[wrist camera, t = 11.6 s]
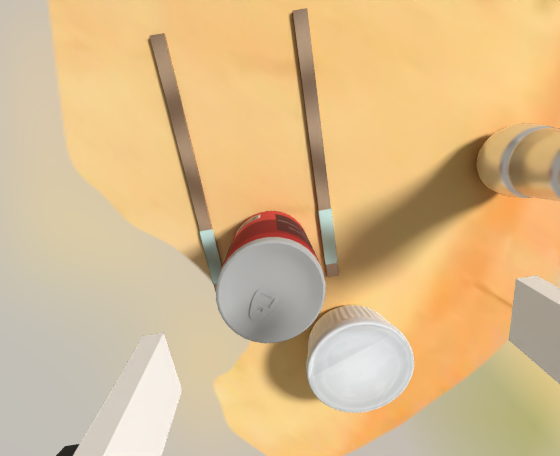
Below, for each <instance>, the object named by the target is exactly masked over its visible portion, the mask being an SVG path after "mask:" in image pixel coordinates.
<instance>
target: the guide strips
mask: <svg viewBox="0 0 560 456" xmlns="http://www.w3.org/2000/svg"><path fill="white" fill-rule="evenodd" d="M293 19H294V27H295V34H296V42H297V50H298V57H299V65H300V72H301V80H302V88H303V95H304V103H305V111H306V118H307V126H308V133H309V141H310V149H311V156H312V164H313V172H314V179H315V187H316V195H317V202H318V214H319V221H320V229H321V236H322V244H323V252H324V259H325V264H326V271H327V277H331V276H337V275H339V274H338V266H337V263H338V261H337V252H336V244H335V235H334V227H333V218H332V210H331V207H330V198H329V190H328V181H327V173H326V164H325V156H324V147H323V139H322V131H321V122H320V114H319V105H318V97H317V88H316V80H315V71H314V63H313V54H312V46H311V38H310V29H309V21H308V12H307V8H306V9H300V10H294V11H293ZM150 39H151V43H152V47H153V51H154V55H155V59H156V62H157V66H158V70H159V74H160V78H161V82H162V86H163V90H164V93H165V97H166V101H167V105H168V109H169V113H170V117H171V121H172V124H173V128H174V132H175V136H176V140H177V144H178V148H179V152H180V156H181V159H182V163H183V167H184V171H185V175H186V179H187V183H188V187H189V190H190V194H191V198H192V202H193V206H194V210H195V214H196V218H197V221H198V225H199V229H200V236H201V240H202V243H203V247H204V251H205V255H206V259H207V263H208V267H209V270H210V274H211V278H212V282H213V284H214V287H215V291H216V288H217V282H218V277H219V274H220V271H221V268H222V264H221V260H220V256H219V252H218V248H217V244H216V240H215V236H214V232H213V228H212V225H211V221H210V217H209V213H208V209H207V205H206V201H205V197H204V193H203V189H202V184H201V180H200V176H199V172H198V168H197V164H196V160H195V156H194V152H193V148H192V144H191V140H190V135H189V131H188V127H187V123H186V119H185V115H184V111H183V107H182V103H181V99H180V95H179V90H178V86H177V82H176V78H175V74H174V70H173V66H172V62H171V58H170V54H169V50H168V45H167V41H166V37H165V34H164V33H163V34H157V35H151V36H150Z"/></svg>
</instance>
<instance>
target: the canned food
mask: <svg viewBox="0 0 560 456" xmlns="http://www.w3.org/2000/svg"><path fill="white" fill-rule="evenodd" d="M325 290H326V287H325V279H324V274H323V271H322V268H321V265H320V263H319V260H318V258H317V256H316V254H315V252H314V250H313V248H312V246H311V244H310V242H309V240H308V237H307V235H306V233H305V231H304V230H303V228H302V226H301V225H300V224H299V223H298V222H297V221H296V220H295V219H294V218H292V217H291V216H290V215H287V214H285V213H282V212H277V211H266V212H261V213H258V214H256V215H253V216H252V217H250V218H249V219H247V220H246V221H245V222H244V223H243V224H242V225H241V226H240V227H239V229H238V230H237V232H236V234H235V237H234V239H233V242H232V244H231V246H230V249H229V251H228V254H227V256H226V259H225V261H224V263H223V266H222V268H221V271H220V274H219V277H218V282H217V288H216V301H217V305H218V309H219V312H220V314H221V316H222V318H223V320H224V321H225V322H226V324H227V325H228V326H229V327H230V328H231V329H232V330H233V331H234V332H235V333H237V334H238V335H240V336H242V337H243V338H245V339H248V340H251V341H254V342H260V343H277V342H282V341H286V340H288V339H291V338H293V337H295V336H297V335H299V334H300V333H302V332H304V331H305V330H306V329H307V328H308V327H309V326H310V325H311V324H312V323H313V322H314V320H315V319H316V318H317V316H318V315H319V313H320V311H321V309H322V306H323V303H324V299H325Z"/></svg>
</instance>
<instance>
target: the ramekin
mask: <svg viewBox="0 0 560 456" xmlns="http://www.w3.org/2000/svg"><path fill="white" fill-rule="evenodd" d="M413 369H414V355H413V352H412V349H411V346H410V344H409V342H408V341H407V339H406V338H405V336H404V335H403V334H402V332H401V331H400V330H398V329H397V328H396V327H395V326H393V325H392V324H390V323H389V322H388V321H387V320H386V319H385V318H384V317H383V316H381V315H380V314H379V313H377V312H376V311H374V310H372V309H370V308H367V307H363V306H358V305H347V306H342V307H338V308H335V309H333V310H331V311H329V312H327V313H326V314H324V315H323V316H322V317H321V318H320V319H319V320H318V321H317V322H316V324H315V325H314V326H313V329H312V330H311V333H310V335H309V340H308V356H307V360H306V374H307V379H308V383H309V385H310V388H311V389H312V391H313V393H314V394H315V396H316V397H317V398H318V399H319V400H321V401H322V402H323V403H324V404H326V405H328V406H329V407H332V408H334V409H336V410H339V411H344V412H352V413H359V412H367V411H371V410H375V409H377V408H380V407H382V406H384V405H386V404H388V403H390V402H391V401H393V400H394V399H396V398H397V397H398V396H399V395H400V394H401V393H402V392H403V391H404V390H405V388H406V387H407V385H408V383H409V381H410V379H411V377H412V374H413Z"/></svg>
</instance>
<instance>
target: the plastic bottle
mask: <svg viewBox="0 0 560 456" xmlns="http://www.w3.org/2000/svg"><path fill="white" fill-rule="evenodd" d="M477 171H478V175H479V177H480V179H481V181H482V182H483V183H484V185H485V186H487V187H488V188H489V189H491V190H493V191H495V192H497V193H499V194H501V195H504V196H509V197H518V198H539V199H546V200H553V201H560V128H554V127H550V126H545V125H540V124H532V123H522V124H517V125H513V126H509V127H505V128H502V129H500V130H498V131H497V132H495V133H493V134H492V135H491V136H490V137H489V138H488V139H487V140H486V142H485V143H484V144H483V145H482V147H481V149H480V151H479V153H478V156H477Z"/></svg>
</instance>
